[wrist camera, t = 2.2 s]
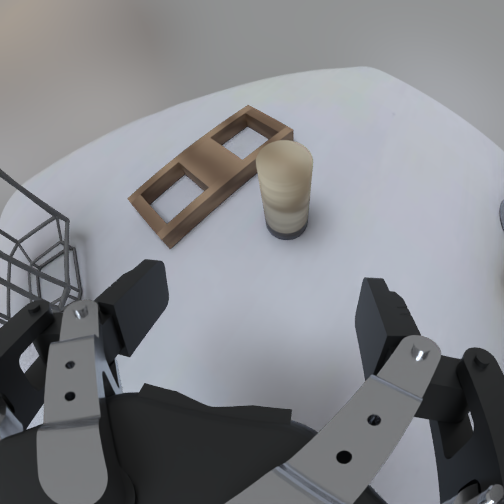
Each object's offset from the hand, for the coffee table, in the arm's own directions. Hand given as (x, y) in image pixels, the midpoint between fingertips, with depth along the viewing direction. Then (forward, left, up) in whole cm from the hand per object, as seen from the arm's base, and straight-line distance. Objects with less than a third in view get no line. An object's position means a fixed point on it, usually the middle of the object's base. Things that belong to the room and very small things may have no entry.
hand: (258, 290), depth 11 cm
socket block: (-8, -18, -16) cm, 26 cm away
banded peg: (-9, -7, -16) cm, 20 cm away
